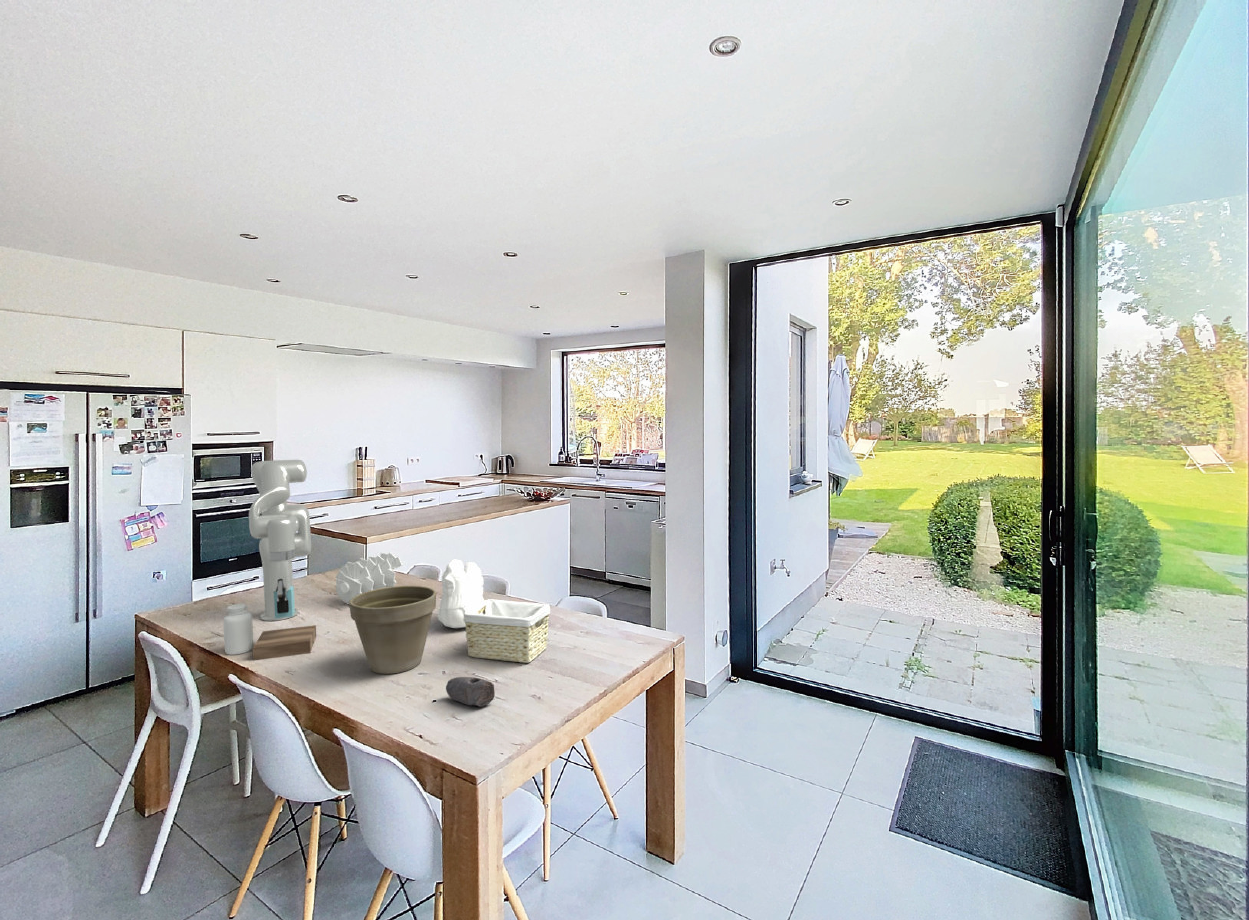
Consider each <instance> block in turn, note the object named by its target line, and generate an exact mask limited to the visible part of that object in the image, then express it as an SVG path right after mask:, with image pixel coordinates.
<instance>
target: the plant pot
mask: <svg viewBox="0 0 1249 920" xmlns="http://www.w3.org/2000/svg"><path fill="white" fill-rule="evenodd" d="M349 603H350V604H349V610H350V618H351V620H353V621H354V623H355V627H356V630H357V633H358V635H359V639H360V641H361V645H362V648H363V650H364V654H365V657H366V661H367V663H368V666H369V668H370V670H371V671H372V672H374V673H377V674H382V675H383V674H384V675H391V674H398V673H402V672H406V671H410V670H412V669H414V668H416V667H418V666H419V664H420V663H421V662H422V657H423V654H424V650H425V646H426V643H427V638H428V633H429V629H430V625H431V620H432V615H433V612H434V611H435V610H436V607H437V591H436V590H435V589H434V588H431V587H428V586H422V585H397V586H396V585H394V586H393V587H386V588H380V589H375V590H371V591H367V592H364V593H361V594H359V595H357V596H355V597H353V598H352V599H351V600H350V602H349Z"/></svg>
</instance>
